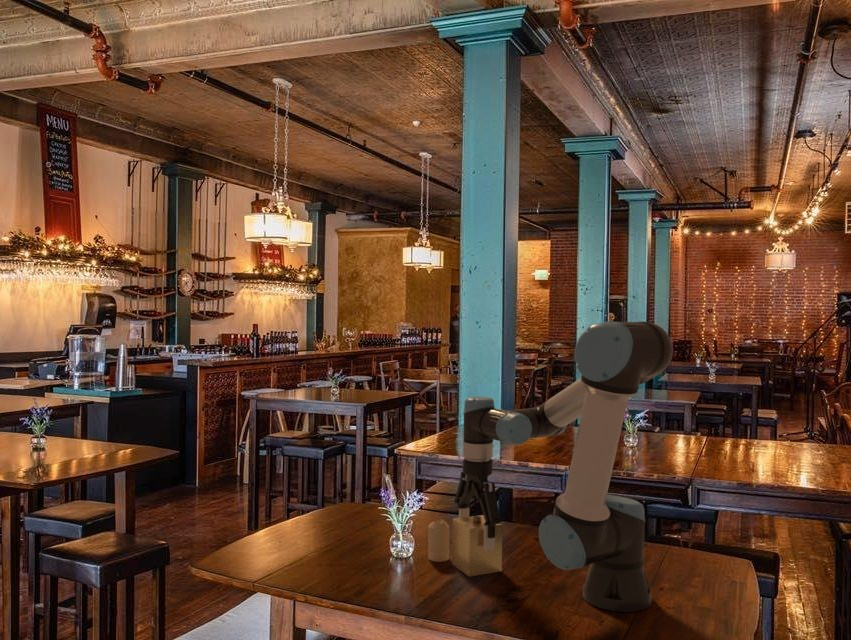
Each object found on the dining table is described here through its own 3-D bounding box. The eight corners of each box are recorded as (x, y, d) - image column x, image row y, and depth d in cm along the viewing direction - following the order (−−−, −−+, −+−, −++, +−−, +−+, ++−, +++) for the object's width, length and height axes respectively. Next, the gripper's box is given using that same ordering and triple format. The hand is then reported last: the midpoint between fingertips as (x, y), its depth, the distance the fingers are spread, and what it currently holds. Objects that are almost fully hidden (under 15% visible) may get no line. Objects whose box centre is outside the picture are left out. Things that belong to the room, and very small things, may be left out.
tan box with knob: (501, 571, 185) (502, 519, 185) (469, 576, 181) (469, 524, 181) (483, 559, 194) (484, 510, 193) (452, 564, 190) (452, 514, 189)
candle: (436, 553, 198) (437, 516, 198) (453, 558, 194) (453, 520, 194) (423, 558, 194) (424, 520, 194) (440, 563, 190) (440, 525, 190)
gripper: (516, 468, 177) (514, 555, 178) (468, 447, 200) (466, 525, 201) (488, 470, 174) (486, 559, 175) (443, 449, 197) (441, 528, 197)
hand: (475, 541), depth 188 cm, fingers open, 13 cm apart
